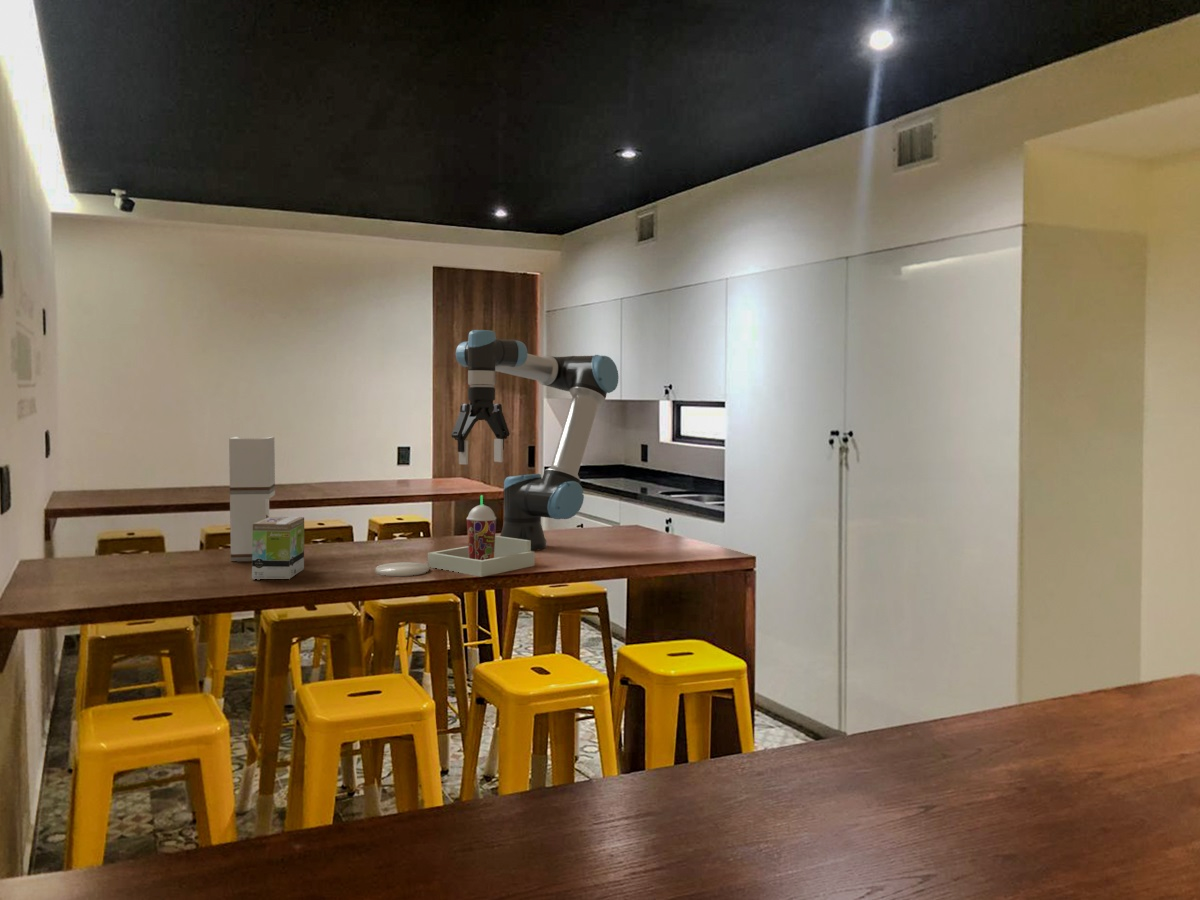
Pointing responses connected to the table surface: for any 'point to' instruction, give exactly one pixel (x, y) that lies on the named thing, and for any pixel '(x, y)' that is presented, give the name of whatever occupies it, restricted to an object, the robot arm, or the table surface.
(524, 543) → the shallow open tray
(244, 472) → the striped white pillar
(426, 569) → the saucer
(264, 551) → the tea box
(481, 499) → the smoothie
